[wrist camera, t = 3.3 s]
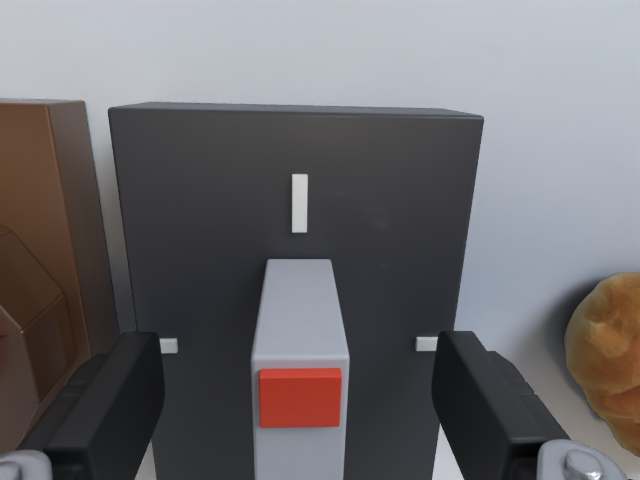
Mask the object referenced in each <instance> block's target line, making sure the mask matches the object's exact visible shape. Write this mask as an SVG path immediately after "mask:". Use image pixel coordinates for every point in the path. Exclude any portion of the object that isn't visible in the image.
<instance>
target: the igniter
mask: <svg viewBox="0 0 640 480" xmlns="http://www.w3.org/2000/svg"><path fill="white" fill-rule="evenodd" d="M118 338H119V330H118V324H117V317H116V310H115V303H114V297H113V290H112V283H111V277H110V270H109V263H108V257H107V250H106V243H105V237H104V230H103V223H102V216H101V210H100V203H99V196H98V190H97V183H96V176H95V170H94V163H93V156H92V150H91V143H90V136H89V130H88V123H87V116H86V109H85V103H84V101H82V100H42V99H0V455H1V454H4V453H7V452H11V451H15V449H16V448H17V447H18V445H19V444H20V443H21V442H22V440H23V439H24V438H25V436H26V435H27V434H28V432H29V431H30V430H31V428H32V427H33V426H34V425H35V423H36V422H37V421H38V419H39V418H40V417H41V415H42V414H43V413H44V411H45V410H46V409H47V407H48V406H49V405H50V404H51V402H52V401H53V400H55V399H56V396H57V394H58V393H59V392H60V390H61V389H62V388H63V387H64V386H66V383H67V381H68V380H69V379H70V377H71V376H72V375H73V373H74V372H75V371H76V370H77V368H78V367H79V366H81V365H82V364H83V363H85V362H86V361H88V360H89V359H91V358H92V357H93V356H95V355H96V354H98V353H108V352H109V351H110V349H111V348H112V347H113V345H114V344H115V342H116V341H117V339H118Z"/></svg>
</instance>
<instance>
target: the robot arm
mask: <svg viewBox="0 0 640 480" xmlns="http://www.w3.org/2000/svg"><path fill="white" fill-rule="evenodd" d="M431 393H432V401H433V406H434V409H435V411H436V414H437V416H438V419H439V421H440V423H441V426H442V428H443V430H444V433H445V435H446V438H447V440H448V442H449V445H450V447H451V449H452V452H453V454H454V456H455V459H456V461H457V464H458V466H459V468H460V471H461V473H462V475H463V478H464V480H631V479H628V478H627V477H626V475H625V474H624V472H623V471H622V470H621V468H620V467H619V466H618V465H617V464H616V463H615V462H614V461H612V460H611V459H610V458H609V457H607V456H606V455H605V454H603V453H601V452H600V451H598V450H596V449H594V448H592V447H590V446H588V445H585V444H583V443H580V442H576V441H572V440H571V439H570V438H569V436H568V435H567V434H566V432H565V431H564V430H563V429H562V427H561V426H560V425H559V423H558V422H557V421H556V419H555V418H554V417H553V415H552V414H551V413H550V412H549V410H548V409H547V408H546V406H545V405H544V404H543V402H542V401H541V400H540V399H539V397H538V396H537V395H535V394H534V391H533V389H532V388H531V387H530V386H529V384H528V383H527V382H525V379H524V378H523V376H522V375H521V374H520V372H519V371H518V370H517V369H516V367H515V366H514V365H513V364H512V363H511V362H509V361H508V360H507V359H505V358H504V357H502V356H501V355H500V354H498V353H497V352H495V351H486V349H485V348H484V346H483V345H482V344H481V342H480V341H479V339H478V338H477V337H476V335H475V334H474V333H473V332H472V331H441V332H440V333H439V335H438V339H437V346H436V353H435V361H434V368H433V375H432V383H431ZM164 399H165V381H164V372H163V363H162V355H161V346H160V338H159V335H158V333H157V332H123V333H122V334H121V335H120V336H119V338H118V339H117V341H116V342H115V344H114V345H113V347H112V348H111V349H110V351H109V352H108V353H98V354H96V355H95V356H93V357H92V358H91V359H89V360H88V361H86V362H85V363H83V364H82V365H81V366H79V367H78V368H77V370H76V371H75V372H74V373H73V375H72V376H71V377H70V379H69V380H68V381H67V383H66V386H64V387H63V388H62V389H61V390H60V392H59V393H58V394H57V396H56V399H55V400H53V401H52V402H51V404H50V405H49V406H48V407H47V409H46V410H45V411H44V413H43V414H42V415H41V417H40V418H39V419H38V421H37V422H36V423H35V425H34V426H33V427H32V428H31V430H30V431H29V432H28V434H27V435H26V436H25V438H24V439H23V440H22V442H21V443H20V444H19V445H18V447H17V448H16V449H15V451H11V452H7V453H4V454H1V455H0V480H134V479H135V476H136V474H137V472H138V469H139V467H140V464H141V462H142V459H143V457H144V454H145V452H146V449H147V447H148V445H149V442H150V440H151V437H152V435H153V432H154V430H155V427H156V425H157V422H158V420H159V418H160V415H161V412H162V409H163V405H164Z"/></svg>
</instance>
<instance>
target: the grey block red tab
mask: <svg viewBox="0 0 640 480" xmlns="http://www.w3.org/2000/svg"><path fill="white" fill-rule="evenodd" d="M349 364H350V356H349V351H348V346H347V341H346V336H345V331H344V325H343V320H342V315H341V310H340V305H339V300H338V294H337V289H336V284H335V279H334V274H333V269H332V264H331V261H330V260H329V259H269V260H267V264H266V270H265V276H264V282H263V288H262V294H261V300H260V306H259V312H258V318H257V324H256V330H255V336H254V342H253V348H252V354H251V382H252V412H253V441H254V471H255V480H343V472H344V454H345V436H346V418H347V400H348V382H349Z"/></svg>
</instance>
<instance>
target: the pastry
mask: <svg viewBox="0 0 640 480" xmlns="http://www.w3.org/2000/svg"><path fill="white" fill-rule="evenodd" d="M564 343H565V349H566V367H567V370H568V372H569V373H570V374H571V375H572V377H573V378H574V379H575V380H576V382H577V383H578V385H580V386H581V388H582V389H583V390H584V392H585V396H586V399H587V402H588V404H589V406H590V407H591V408H592V409H593V410H594V411H595V412H596V414H598V415H599V416H600V417H601V418H602V419H604V420H605V421H606V422H607V424H608V426H609V427H610V429H611V431H612V433H613V435H614V437H615V439H616V440H617V441H618V443H619V444H620V445H621V446H622V448H625V449H627V450H629V451H631V452H632V453H633V454H634V455H636V456H638V457H640V273H616V274H613V275H611V276H609V277H608V278H605V279H603V280H601V281H600V282H599V283H598V285H597V286H596V287H595V288H594V290H593V291H592V292H591V293H590V294H589V295H588V296H587V297H585V299H584V300H583V301H582V302H581V303H580V304H579V305H578V307H577V308H576V309H575V311H574V313H573V315H572V317H571V319H570V321H569V324H568V326H567V329H566V333H565V336H564Z"/></svg>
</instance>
